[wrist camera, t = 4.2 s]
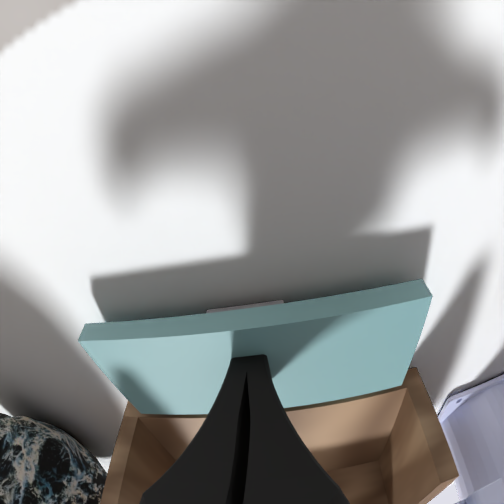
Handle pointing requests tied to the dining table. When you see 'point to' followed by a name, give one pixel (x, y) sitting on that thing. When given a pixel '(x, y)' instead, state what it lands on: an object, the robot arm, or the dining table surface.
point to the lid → (265, 348)
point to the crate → (313, 446)
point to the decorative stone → (45, 465)
